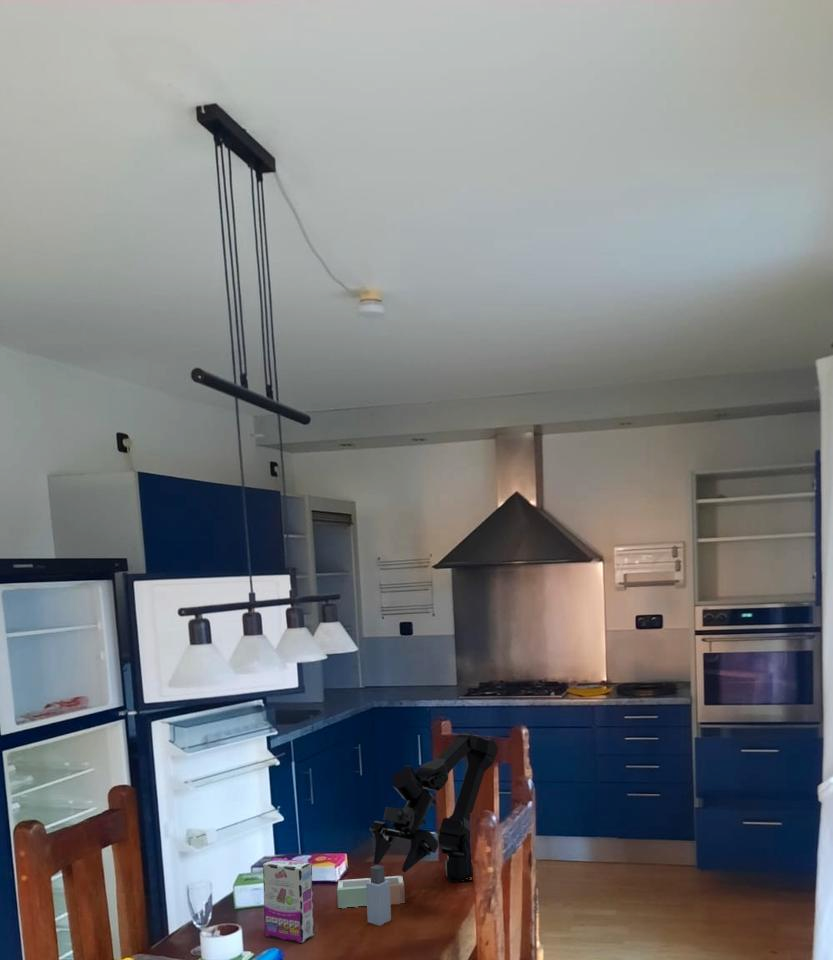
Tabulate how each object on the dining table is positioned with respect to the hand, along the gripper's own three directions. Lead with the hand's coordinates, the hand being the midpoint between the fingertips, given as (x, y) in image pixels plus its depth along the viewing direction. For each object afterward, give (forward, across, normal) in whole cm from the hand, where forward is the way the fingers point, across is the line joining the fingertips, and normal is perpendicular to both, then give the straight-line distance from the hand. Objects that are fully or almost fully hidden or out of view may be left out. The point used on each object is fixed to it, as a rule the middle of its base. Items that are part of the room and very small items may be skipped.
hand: (388, 868), depth 205 cm
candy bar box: (+24, -12, -7) cm, 28 cm away
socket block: (+4, -11, +12) cm, 17 cm away
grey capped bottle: (+11, 0, +5) cm, 12 cm away
